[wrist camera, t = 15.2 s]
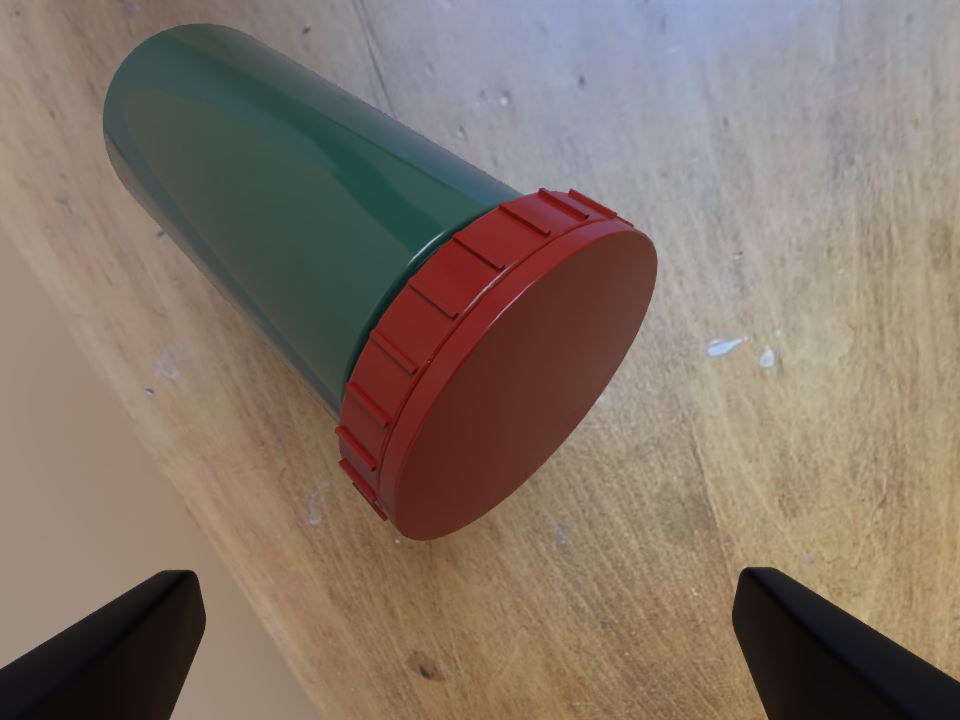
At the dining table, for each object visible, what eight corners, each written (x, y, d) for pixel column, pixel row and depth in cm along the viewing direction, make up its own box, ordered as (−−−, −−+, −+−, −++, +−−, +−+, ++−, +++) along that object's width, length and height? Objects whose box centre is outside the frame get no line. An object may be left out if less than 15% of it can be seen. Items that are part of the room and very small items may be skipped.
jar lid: (580, 354, 14) (624, 386, 14) (384, 530, 12) (426, 580, 11) (624, 113, 9) (702, 148, 8) (262, 356, 6) (332, 436, 5)
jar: (55, 34, 12) (379, 323, 6) (296, 14, 15) (649, 191, 9) (149, 256, 16) (389, 543, 10) (320, 202, 19) (571, 399, 14)
